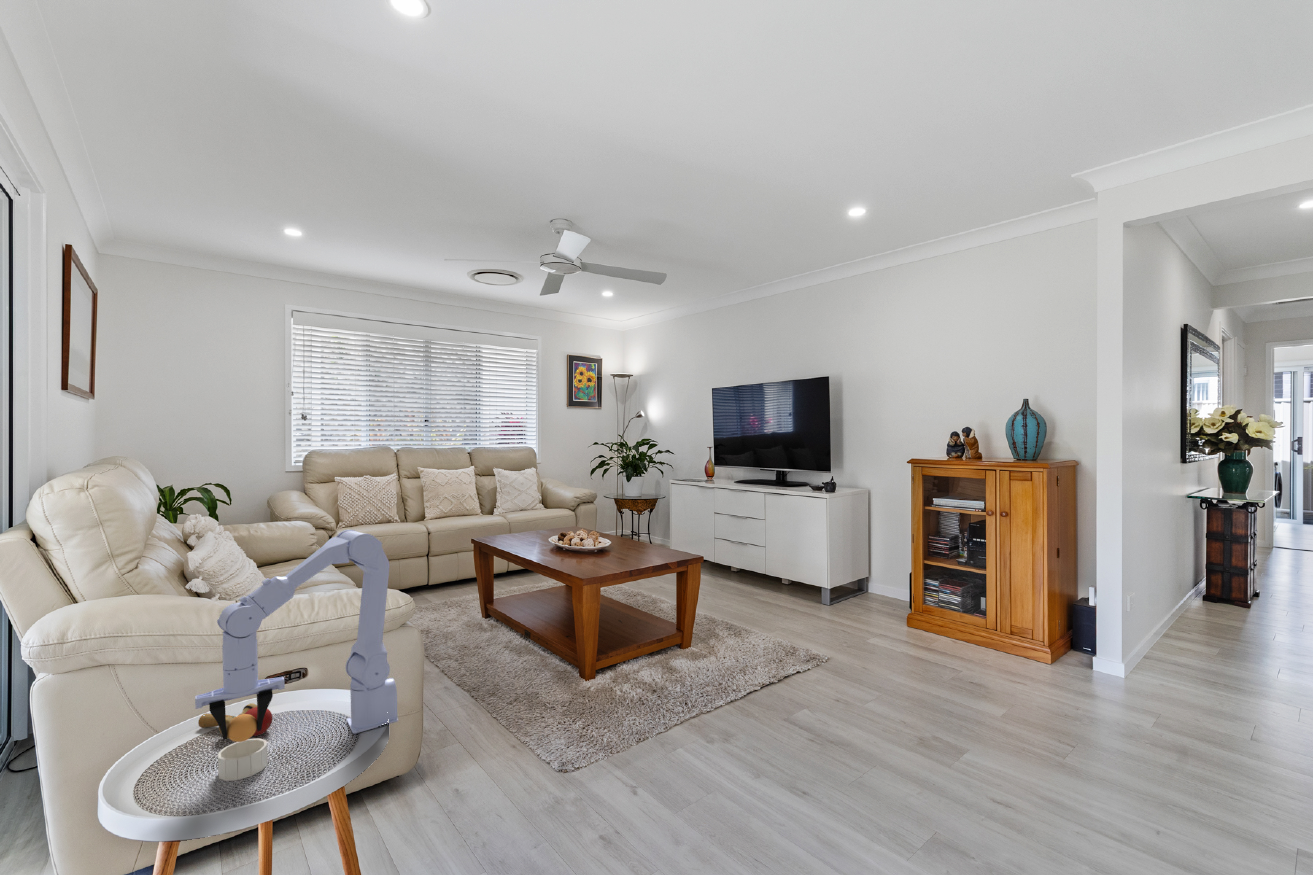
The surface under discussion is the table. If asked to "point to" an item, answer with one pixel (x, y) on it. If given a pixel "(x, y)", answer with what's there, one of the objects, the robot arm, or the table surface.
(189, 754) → the table surface
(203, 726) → the kendama
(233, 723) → the ball
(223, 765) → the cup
